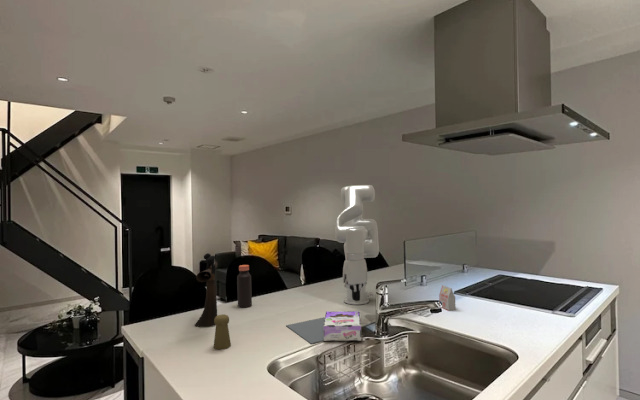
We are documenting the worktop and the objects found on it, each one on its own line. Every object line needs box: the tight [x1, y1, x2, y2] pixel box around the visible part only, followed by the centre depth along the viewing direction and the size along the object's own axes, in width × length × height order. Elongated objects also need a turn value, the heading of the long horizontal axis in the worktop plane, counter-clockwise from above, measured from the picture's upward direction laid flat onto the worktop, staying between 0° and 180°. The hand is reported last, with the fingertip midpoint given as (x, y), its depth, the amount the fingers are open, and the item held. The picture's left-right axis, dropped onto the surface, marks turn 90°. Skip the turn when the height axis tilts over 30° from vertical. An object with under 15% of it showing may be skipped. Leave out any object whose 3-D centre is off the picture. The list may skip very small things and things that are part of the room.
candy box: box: [323, 310, 362, 342], centre depth 134 cm, size 14×6×16 cm
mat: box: [285, 316, 325, 345], centre depth 139 cm, size 18×22×1 cm
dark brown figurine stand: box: [194, 252, 218, 328], centre depth 149 cm, size 31×10×30 cm, turn 11°
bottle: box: [236, 264, 253, 309], centre depth 175 cm, size 7×7×20 cm
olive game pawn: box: [213, 314, 232, 351], centre depth 126 cm, size 6×6×11 cm
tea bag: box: [438, 285, 456, 312], centre depth 163 cm, size 4×7×10 cm, turn 16°
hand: (356, 300), depth 149 cm, fingers closed
